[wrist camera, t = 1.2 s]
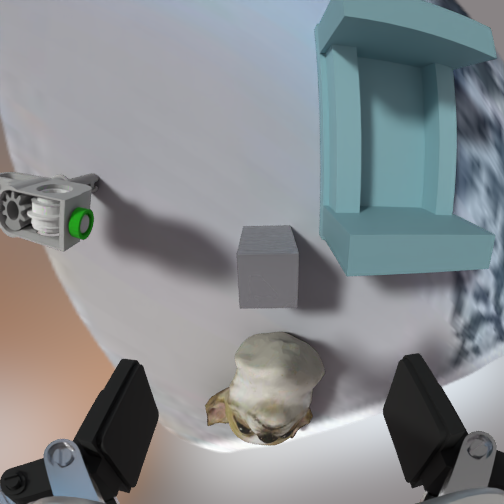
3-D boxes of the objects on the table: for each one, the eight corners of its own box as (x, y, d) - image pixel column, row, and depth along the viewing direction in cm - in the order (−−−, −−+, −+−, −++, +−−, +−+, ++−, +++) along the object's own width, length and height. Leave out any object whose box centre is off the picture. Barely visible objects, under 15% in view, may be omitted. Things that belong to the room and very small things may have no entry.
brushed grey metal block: (243, 226, 23) (236, 254, 17) (290, 225, 23) (298, 253, 17) (245, 269, 24) (239, 308, 18) (289, 268, 24) (297, 307, 18)
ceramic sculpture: (370, 396, 17) (299, 481, 23) (346, 321, 25) (296, 418, 31) (208, 374, 17) (192, 467, 23) (226, 298, 25) (206, 404, 31)
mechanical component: (50, 158, 21) (-34, 177, 12) (150, 174, 21) (77, 200, 12) (47, 191, 22) (-33, 221, 13) (144, 211, 22) (75, 258, 13)
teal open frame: (314, 29, 17) (338, -22, 9) (431, 48, 17) (489, 23, 9) (319, 234, 23) (346, 281, 15) (430, 234, 22) (487, 272, 15)
